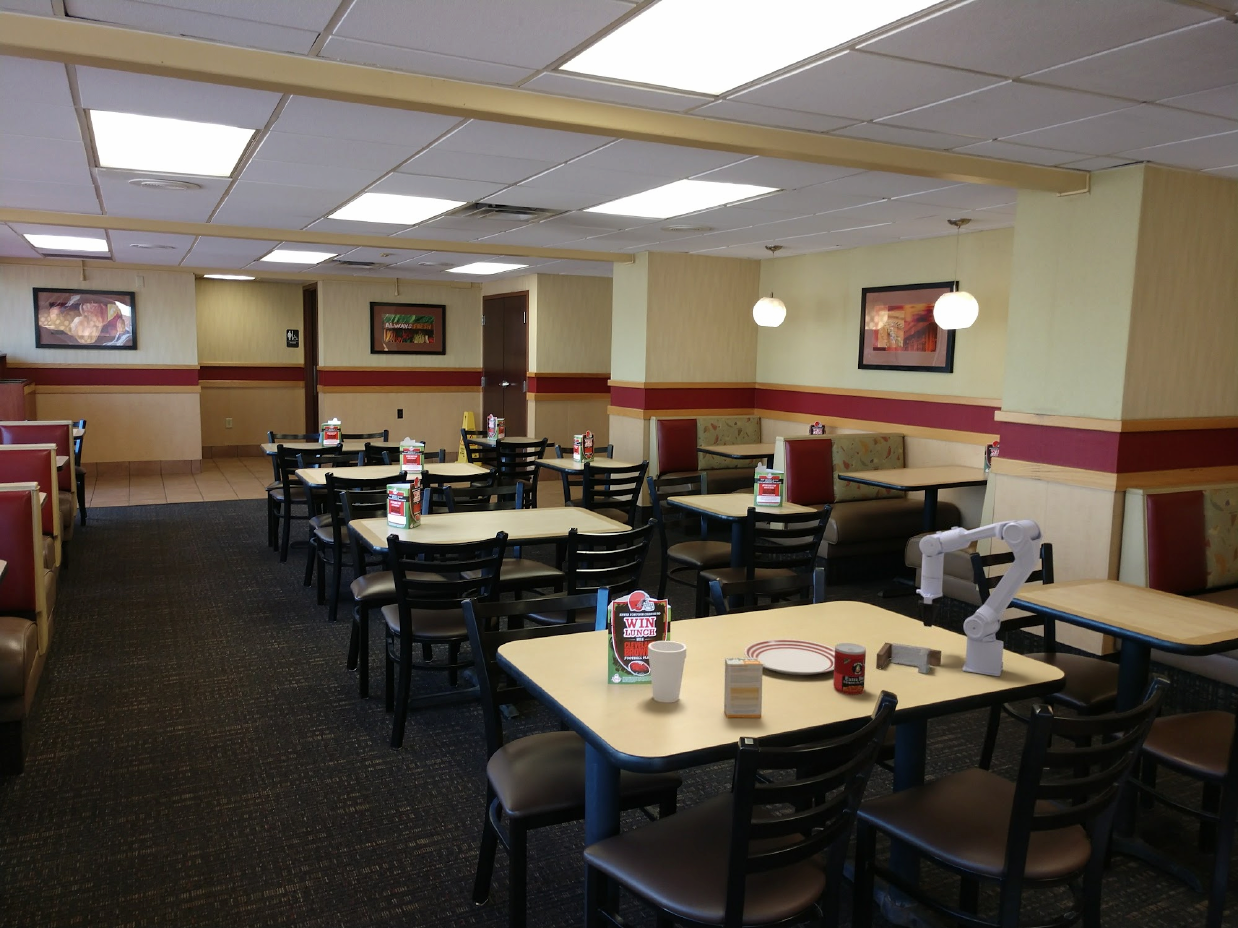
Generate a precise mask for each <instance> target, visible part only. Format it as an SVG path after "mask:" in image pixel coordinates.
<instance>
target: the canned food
mask: <svg viewBox="0 0 1238 928" xmlns="http://www.w3.org/2000/svg"><path fill="white" fill-rule="evenodd" d="M834 649H835V657H834V670H833V688H834V689H835V691H836V692H838V693H841V694H845V695H858V694H861V693H863V692H864V690H865V679H866V678H865V675H866V657H867V656H866V655H867V651H866V647H865V646H863V645H860V644H856V643H851V642H840V643H837V644H836V645H835V646H834Z"/></svg>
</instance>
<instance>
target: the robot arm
mask: <svg viewBox="0 0 1238 928" xmlns="http://www.w3.org/2000/svg"><path fill="white" fill-rule="evenodd" d="M994 537H995V538H996V539H998V540H1000V541H1003V540H1004V542H1005V543H1006V544H1007V547H1009V549H1010V550H1011V552H1012V553H1013V556H1014V560H1013V562H1012V564H1011V565H1010V566H1009V568H1008V569H1007V570H1006V572H1005V574H1004V575H1003V576H1002V578H1001V580H1000V581H999V582H998V583H997V585H996V587H994V589H993V591H992V592H991V594H990V595H989V597H988V598H987V599H986V601H985V602H984V604H982V605H981V606H980V607H979V608H978V609H977V610H976V611H975V613H973V615H971V616H969V617H967V618H966V619H965V621H964V622H963V631H964V633H965V635H966V653H965V662H964V664H963V666H962V671H963V672H969V673H975V674H980V675H981V674H982V675H987V676H994V677H1000V676H1001V674H1002V670H1003V668H1004V660H1003V658H1004V657H1003V656H1004V641H1002V640H998V639H996V633H997V632H998V631H999V630H1000V627H1001V621H1002V619H1004V612H1005V610H1006V609H1007V608H1008V606H1009V605H1010V603H1011V602H1013V599H1014V598H1015V597H1016V595H1017V593H1019V591H1020V589H1021V588H1022V587H1023V585H1024V584H1025V583H1026V581H1027V580H1028V578H1029V577H1030V575H1031V574H1032V573H1033V571H1034V570H1035V568H1036V567H1037V565H1038V564H1039V563H1040V554H1041V541H1043V540H1042V539H1043V537H1044V535H1043V533H1042V531H1041V527H1040V525H1039V524H1038V522H1036V521H1035V520H1033V519H1031V518H1024V519H1021V520H1018V519H1016V520H1014V519H1013V520H1006V521H998V522H996V523H991V524H987V525H983V526H980V527H977V528H973V529H970V530H968V529H965V528H963V527H959V526H953V527H951V529H950V530H946V531H941V530H939V531H936V532H935V533H934V534H930V535H929V534H927V535H925V536H923V537H922V538H921V539H920V541H919V544H918V545H919V550H920V552H921V553H922V555H921V556H922V557H921V558H922V561H921V579H920V589H916V594H920V596H922V598H923V599H922V600H920V599H919V600H918V601H917V605H918V607H919V610H920V612H921V617H922V623H923V626H924V627H927V628H928V627H929V628H932V627H933V624H934V621H936V620H937V619H936V618H937V616H938V612H939V608H940V604H941V603H942V602H941V601H943V599H944V595H943V578H944V577H943V575H944V558H945V554H946V553H950V552H953V551H955V552H956V551H958V550H963V549H967V548H968V547H969V546H970V545H971V543H972V542H975V541H980V540H985V539H990V538H994Z"/></svg>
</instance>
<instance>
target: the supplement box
mask: <svg viewBox="0 0 1238 928" xmlns="http://www.w3.org/2000/svg"><path fill="white" fill-rule="evenodd" d="M763 668H764V667H763V664H762V663H761V661H760V659H759V658H747V657H725V658H724V694H723V695H724V698H723V699H724V701H723V704H724V705H723V709H724V710H723V711H724V713H725V715H726V719H727V718H729V719H731V718H733V719H734V718H735V719H737V718H738V719H739V718H742V719H743V718H744V719H745V718H750V719H751V718H753V719H754V718H755V719H756V718H760V719H761V718H762V713H763V712H762V711H763V710H762V709H763V706H762V703H763V670H764V669H763Z"/></svg>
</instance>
